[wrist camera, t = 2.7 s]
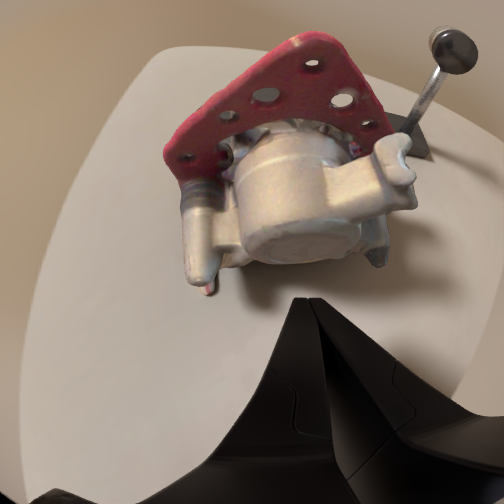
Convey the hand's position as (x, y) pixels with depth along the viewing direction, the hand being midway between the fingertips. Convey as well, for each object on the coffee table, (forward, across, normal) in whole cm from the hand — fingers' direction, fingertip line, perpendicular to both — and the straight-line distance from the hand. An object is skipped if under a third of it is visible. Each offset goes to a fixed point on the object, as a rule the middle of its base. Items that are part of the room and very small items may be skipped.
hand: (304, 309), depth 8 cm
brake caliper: (+9, 0, 0) cm, 9 cm away
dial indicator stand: (+15, -10, -6) cm, 19 cm away
